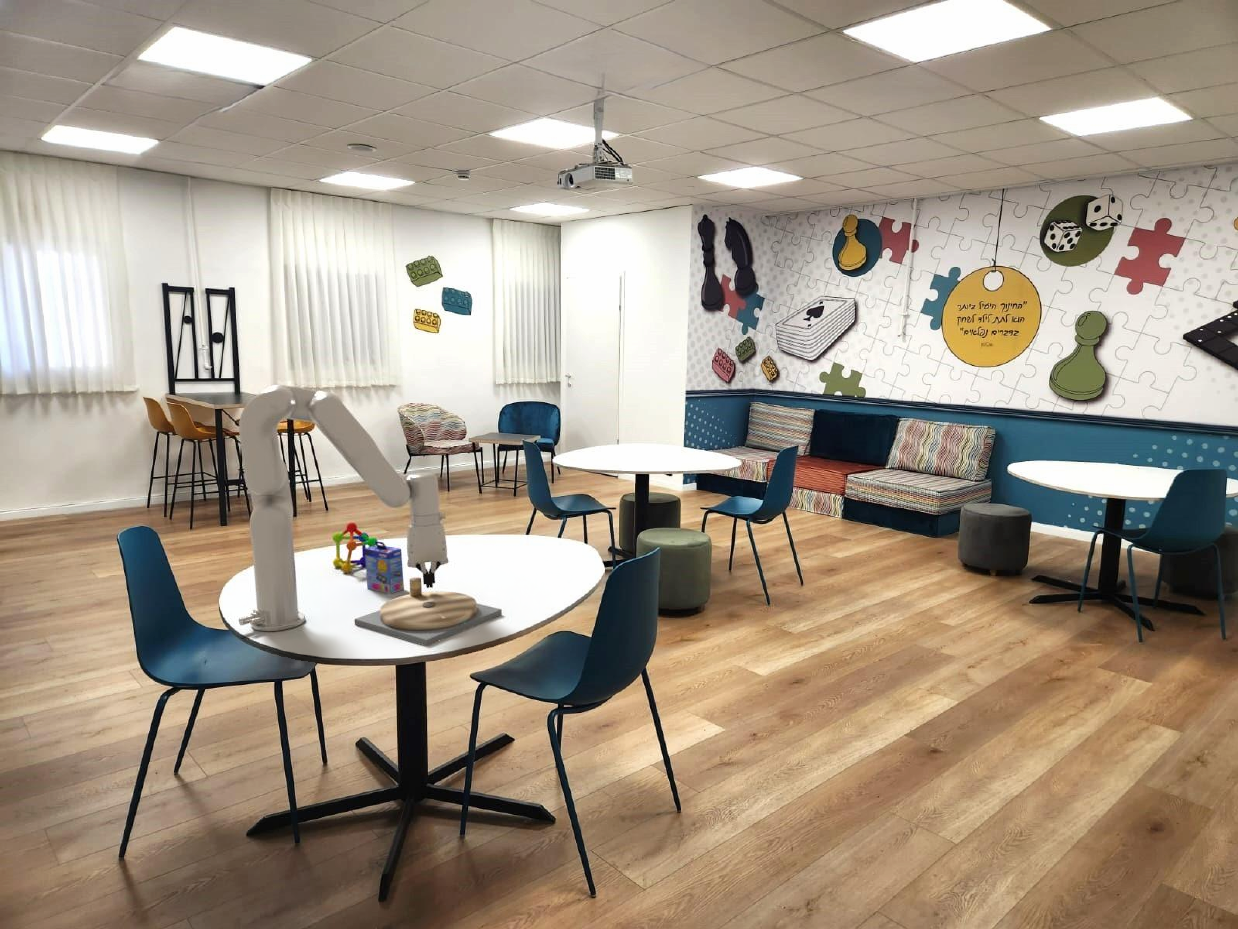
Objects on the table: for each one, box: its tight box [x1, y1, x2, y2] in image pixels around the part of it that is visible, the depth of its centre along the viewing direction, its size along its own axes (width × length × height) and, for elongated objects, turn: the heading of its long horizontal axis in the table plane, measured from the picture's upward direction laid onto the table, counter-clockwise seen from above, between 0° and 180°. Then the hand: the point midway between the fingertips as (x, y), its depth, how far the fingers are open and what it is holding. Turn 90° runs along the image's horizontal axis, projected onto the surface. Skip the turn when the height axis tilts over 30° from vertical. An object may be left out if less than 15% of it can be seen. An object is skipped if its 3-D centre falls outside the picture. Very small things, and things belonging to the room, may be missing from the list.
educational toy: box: [332, 522, 378, 574], centre depth 256 cm, size 16×13×15 cm
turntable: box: [379, 576, 478, 630], centre depth 208 cm, size 24×24×6 cm
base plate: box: [354, 602, 503, 647], centre depth 209 cm, size 26×26×2 cm
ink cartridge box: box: [365, 540, 405, 595], centre depth 233 cm, size 10×6×14 cm, turn 59°
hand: (429, 586), depth 218 cm, fingers closed
